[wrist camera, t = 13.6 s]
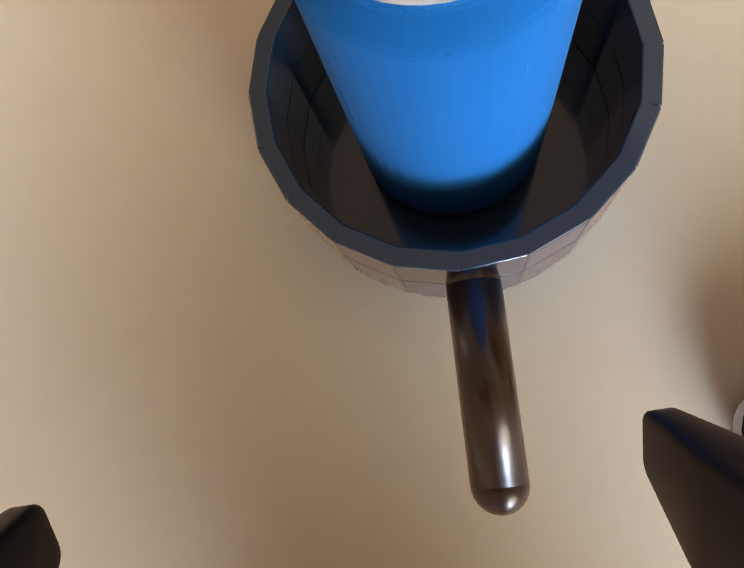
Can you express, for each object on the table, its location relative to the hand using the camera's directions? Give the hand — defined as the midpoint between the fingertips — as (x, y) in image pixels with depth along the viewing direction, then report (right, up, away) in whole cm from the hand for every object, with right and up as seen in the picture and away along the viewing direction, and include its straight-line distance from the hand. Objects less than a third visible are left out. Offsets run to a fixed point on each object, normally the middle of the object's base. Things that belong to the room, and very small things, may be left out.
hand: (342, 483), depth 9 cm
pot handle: (+4, 0, +9) cm, 10 cm away
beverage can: (+3, +8, +14) cm, 16 cm away
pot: (+3, +8, +14) cm, 17 cm away
